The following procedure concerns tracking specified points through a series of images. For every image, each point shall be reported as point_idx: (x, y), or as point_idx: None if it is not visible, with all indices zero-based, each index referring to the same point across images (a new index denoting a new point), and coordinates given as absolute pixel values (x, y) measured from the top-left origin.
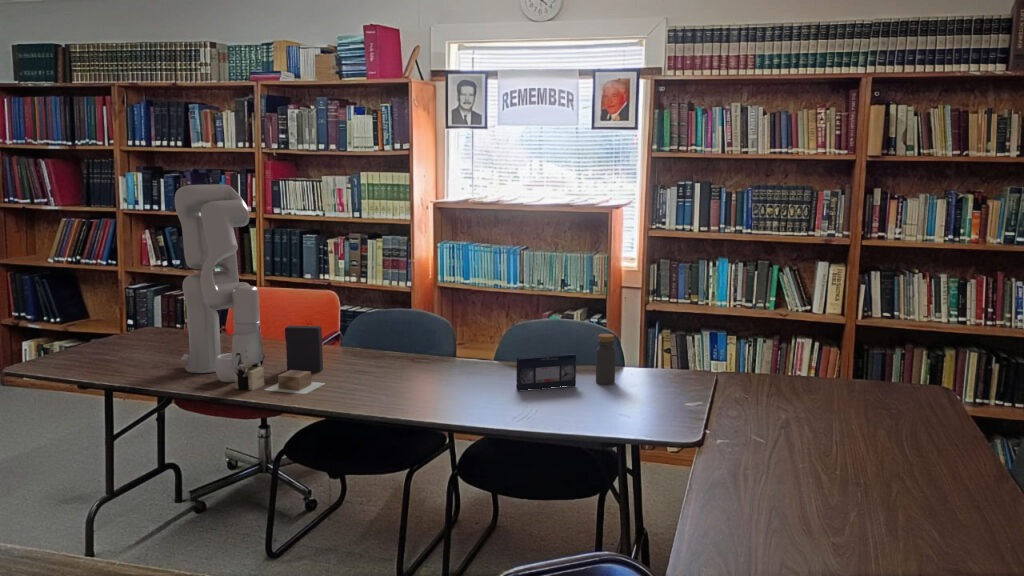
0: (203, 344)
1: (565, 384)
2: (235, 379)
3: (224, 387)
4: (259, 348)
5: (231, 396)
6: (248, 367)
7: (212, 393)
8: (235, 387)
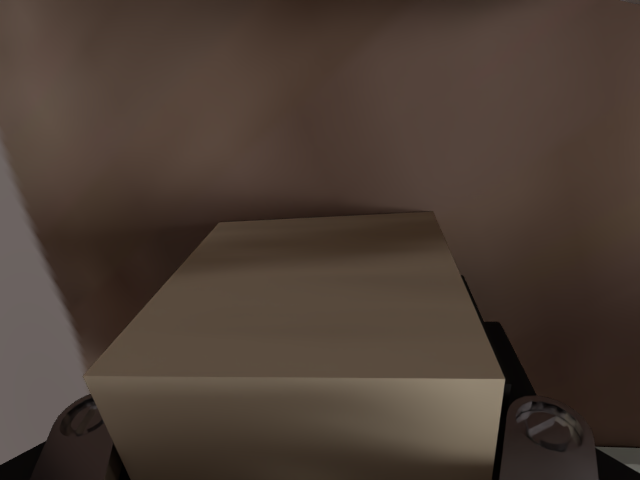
0: None
1: None
2: (166, 292)
3: (249, 12)
4: None
5: (72, 301)
6: (401, 462)
7: (6, 66)
8: (209, 235)
